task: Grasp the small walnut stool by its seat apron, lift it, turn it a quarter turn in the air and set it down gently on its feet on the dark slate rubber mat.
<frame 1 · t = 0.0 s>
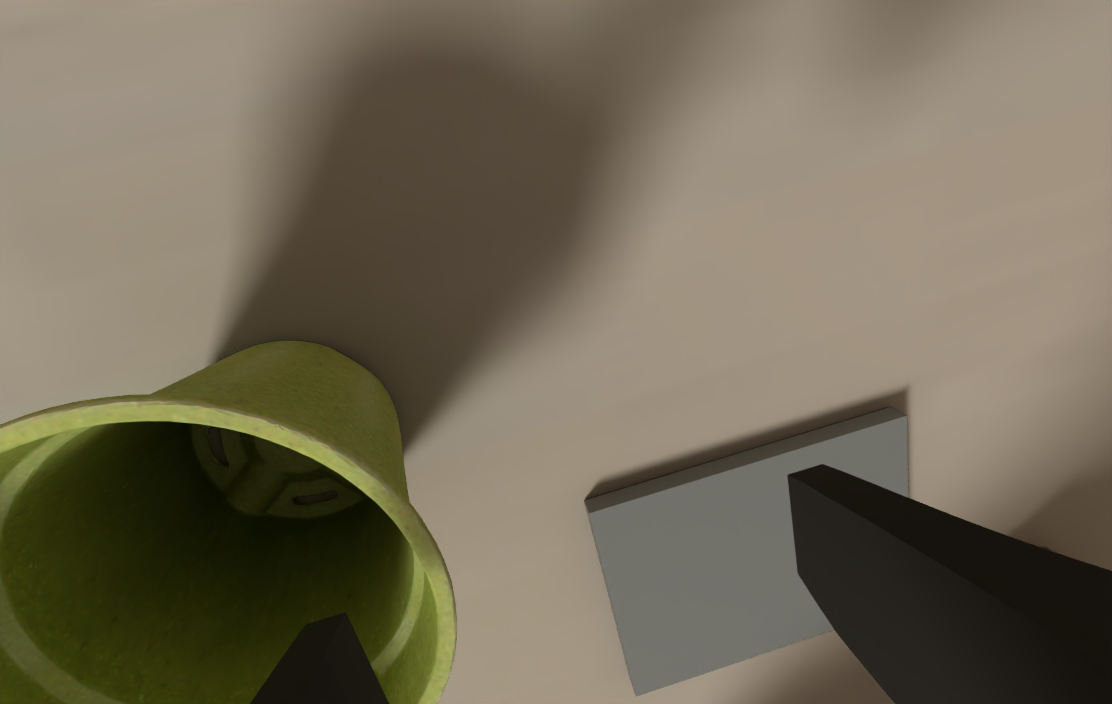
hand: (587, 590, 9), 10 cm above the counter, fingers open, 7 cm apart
slate mat: (754, 549, 23), on the counter
plant pot: (304, 427, 18), on the counter
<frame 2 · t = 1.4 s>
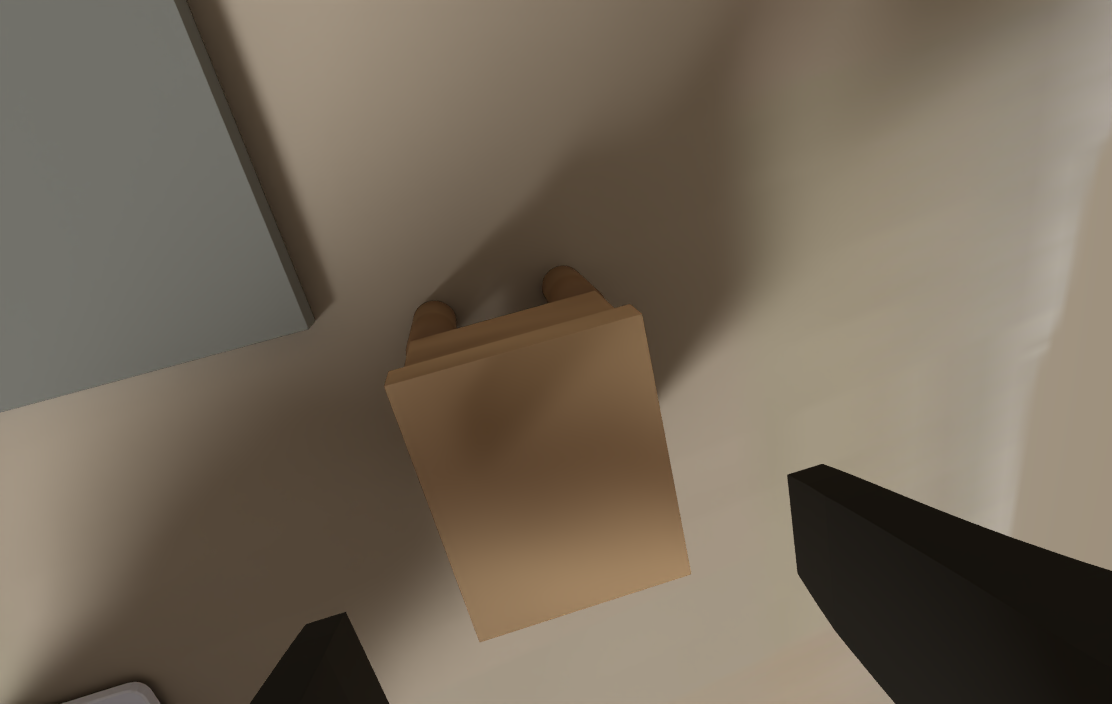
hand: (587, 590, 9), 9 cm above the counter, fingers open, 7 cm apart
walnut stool: (521, 383, 17), on the counter
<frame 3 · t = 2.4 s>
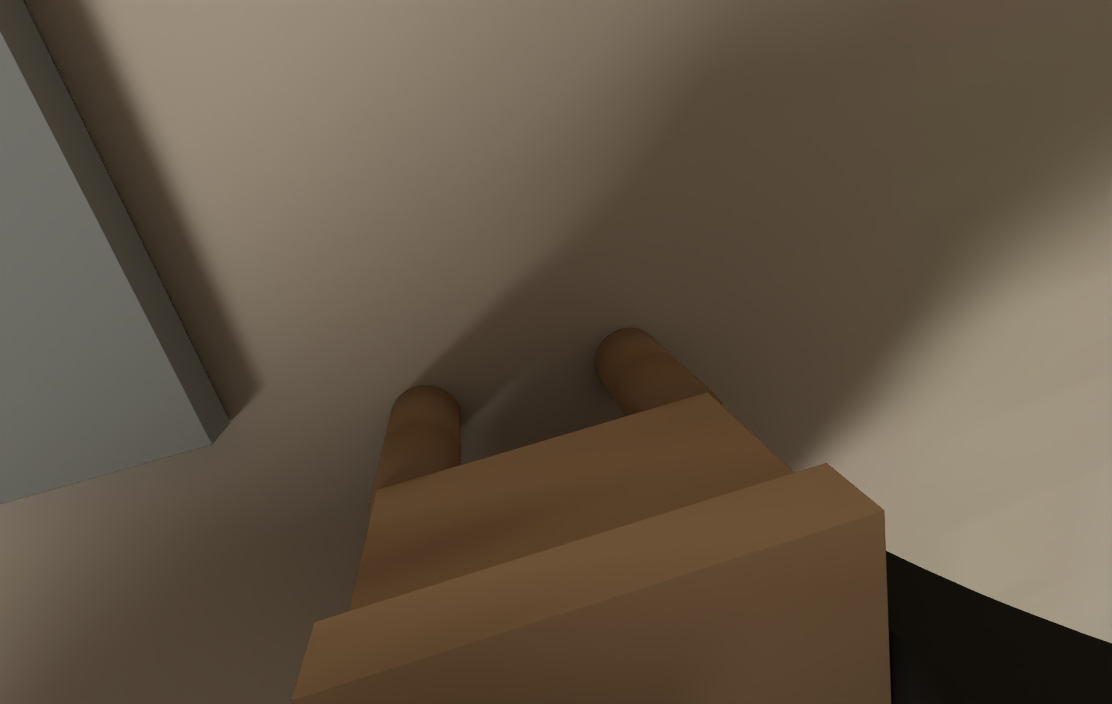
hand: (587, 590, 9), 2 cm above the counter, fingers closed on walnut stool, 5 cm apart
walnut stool: (560, 504, 11), on the counter, touching gripper
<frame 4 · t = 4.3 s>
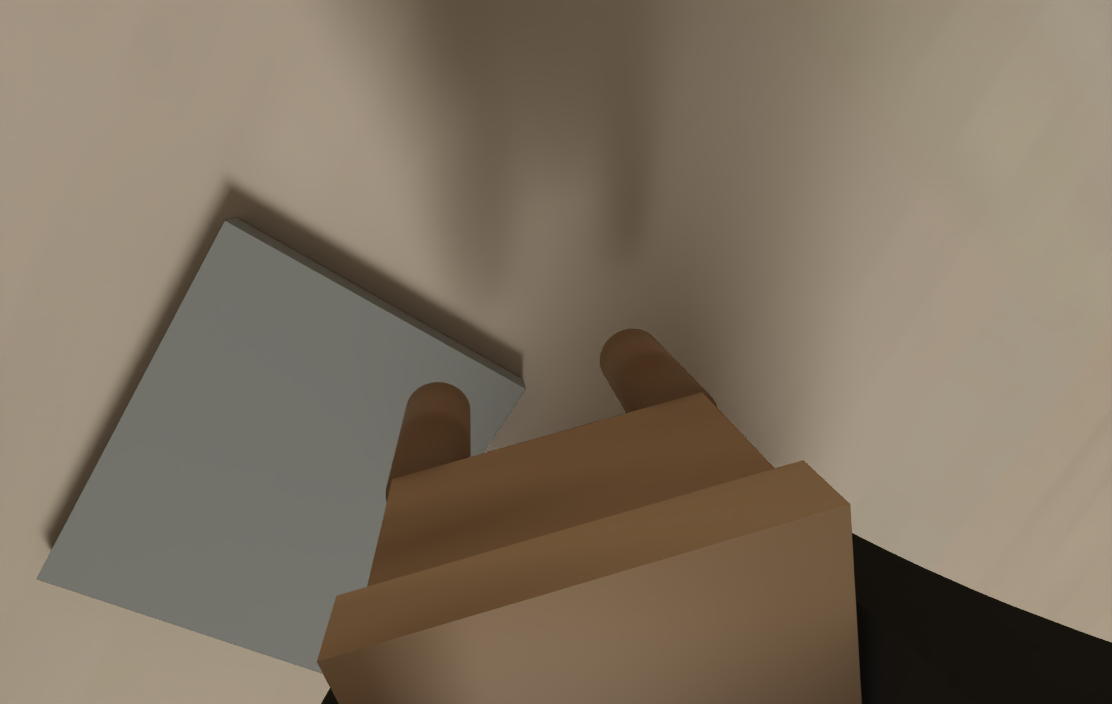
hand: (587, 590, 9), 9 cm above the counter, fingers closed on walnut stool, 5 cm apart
slate mat: (293, 468, 18), on the counter
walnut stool: (565, 495, 12), point 6 cm above the counter, touching gripper
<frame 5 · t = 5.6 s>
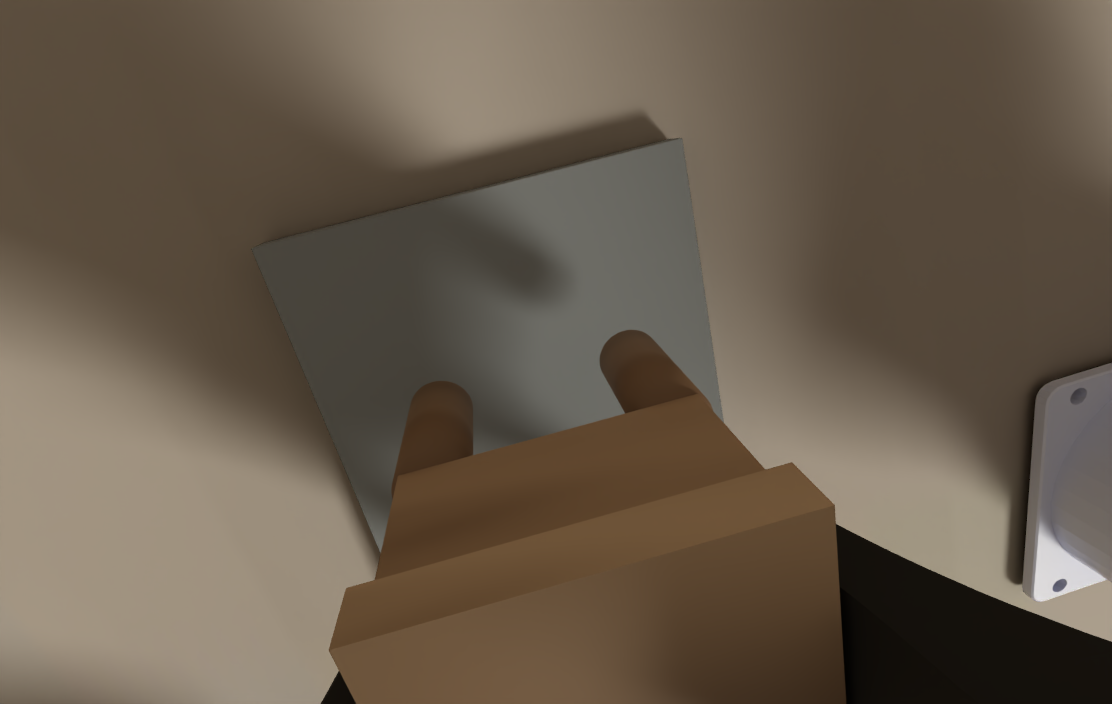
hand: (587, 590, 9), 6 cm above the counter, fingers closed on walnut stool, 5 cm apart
slate mat: (538, 429, 15), on the counter
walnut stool: (565, 491, 12), point 3 cm above the counter, touching gripper
when the fingers open (4 cm above the counter, at t = 6.5 s): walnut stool stays where it is, resting on slate mat.
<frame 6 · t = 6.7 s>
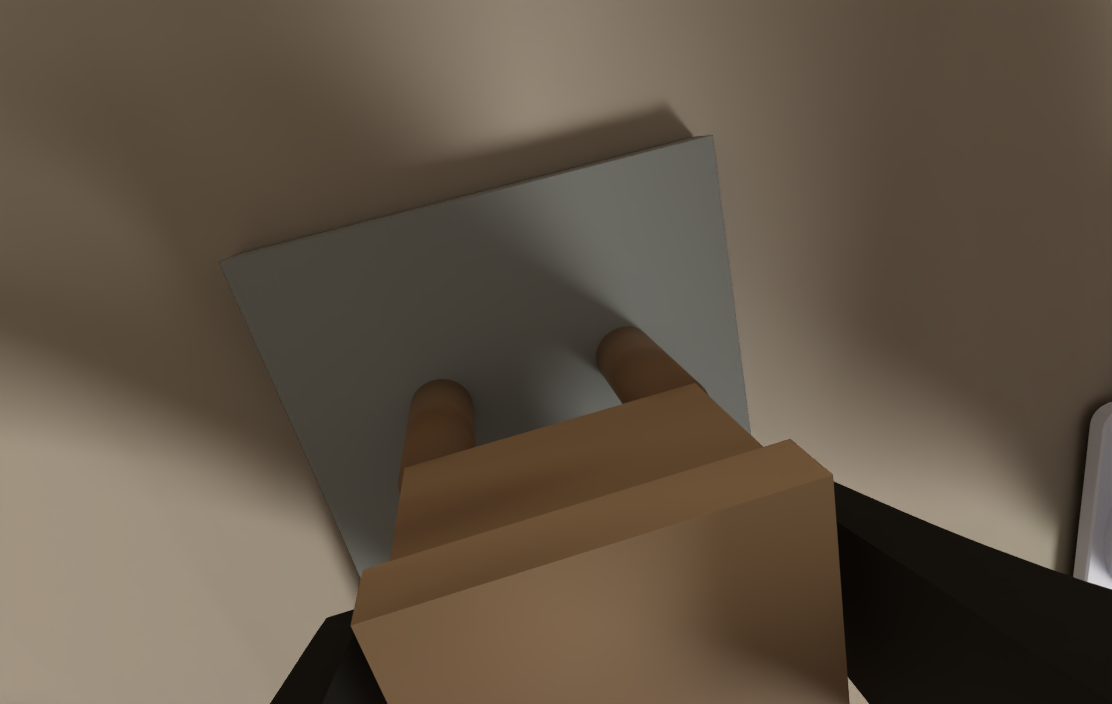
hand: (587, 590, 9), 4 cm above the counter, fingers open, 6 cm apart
slate mat: (546, 459, 13), on the counter
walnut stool: (563, 488, 12), point 1 cm above the counter, touching slate mat
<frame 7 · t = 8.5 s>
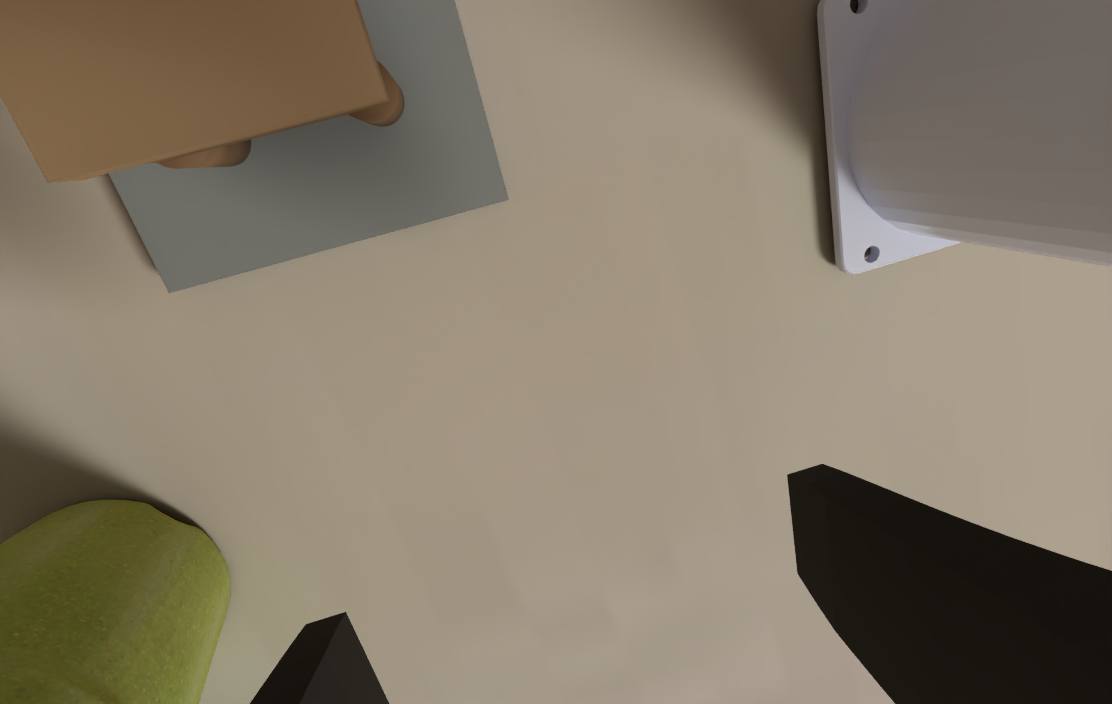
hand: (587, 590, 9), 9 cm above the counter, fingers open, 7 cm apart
plant pot: (129, 574, 18), on the counter
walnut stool: (257, 0, 13), point 1 cm above the counter, touching slate mat
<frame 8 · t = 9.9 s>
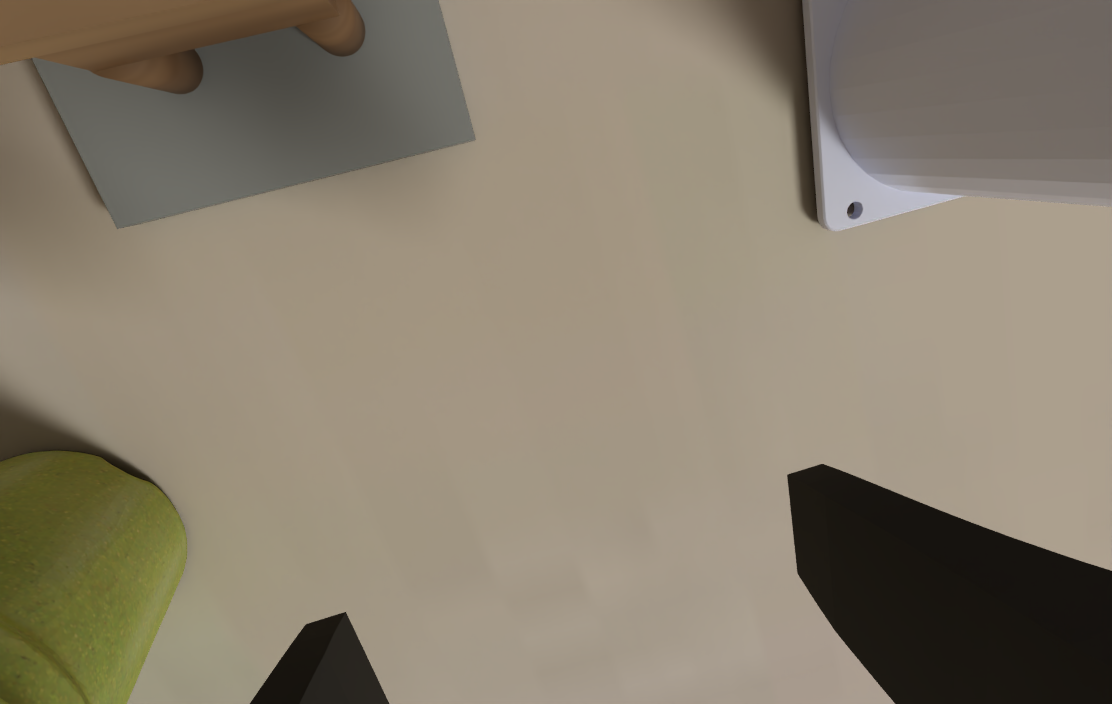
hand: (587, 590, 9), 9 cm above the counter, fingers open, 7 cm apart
plant pot: (81, 532, 17), on the counter
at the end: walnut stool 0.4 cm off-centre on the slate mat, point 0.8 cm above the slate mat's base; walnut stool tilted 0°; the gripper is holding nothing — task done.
